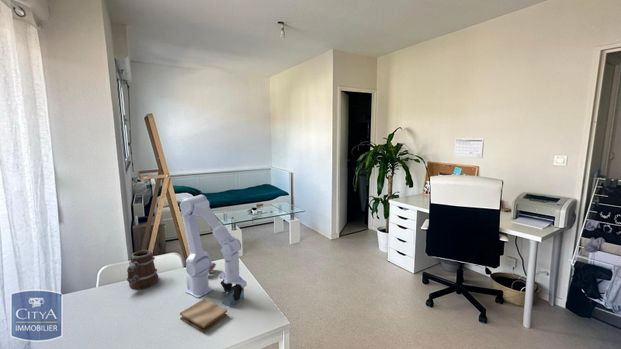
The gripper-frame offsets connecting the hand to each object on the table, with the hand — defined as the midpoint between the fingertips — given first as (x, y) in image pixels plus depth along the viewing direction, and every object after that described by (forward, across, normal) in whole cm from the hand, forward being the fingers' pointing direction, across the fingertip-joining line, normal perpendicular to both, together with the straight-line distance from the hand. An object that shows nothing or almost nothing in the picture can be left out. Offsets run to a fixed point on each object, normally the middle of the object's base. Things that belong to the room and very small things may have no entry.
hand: (233, 297), depth 119 cm
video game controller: (+2, -28, +9) cm, 30 cm away
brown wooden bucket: (+2, -46, -14) cm, 49 cm away
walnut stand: (+1, -1, -14) cm, 14 cm away
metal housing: (+2, 0, 0) cm, 2 cm away
